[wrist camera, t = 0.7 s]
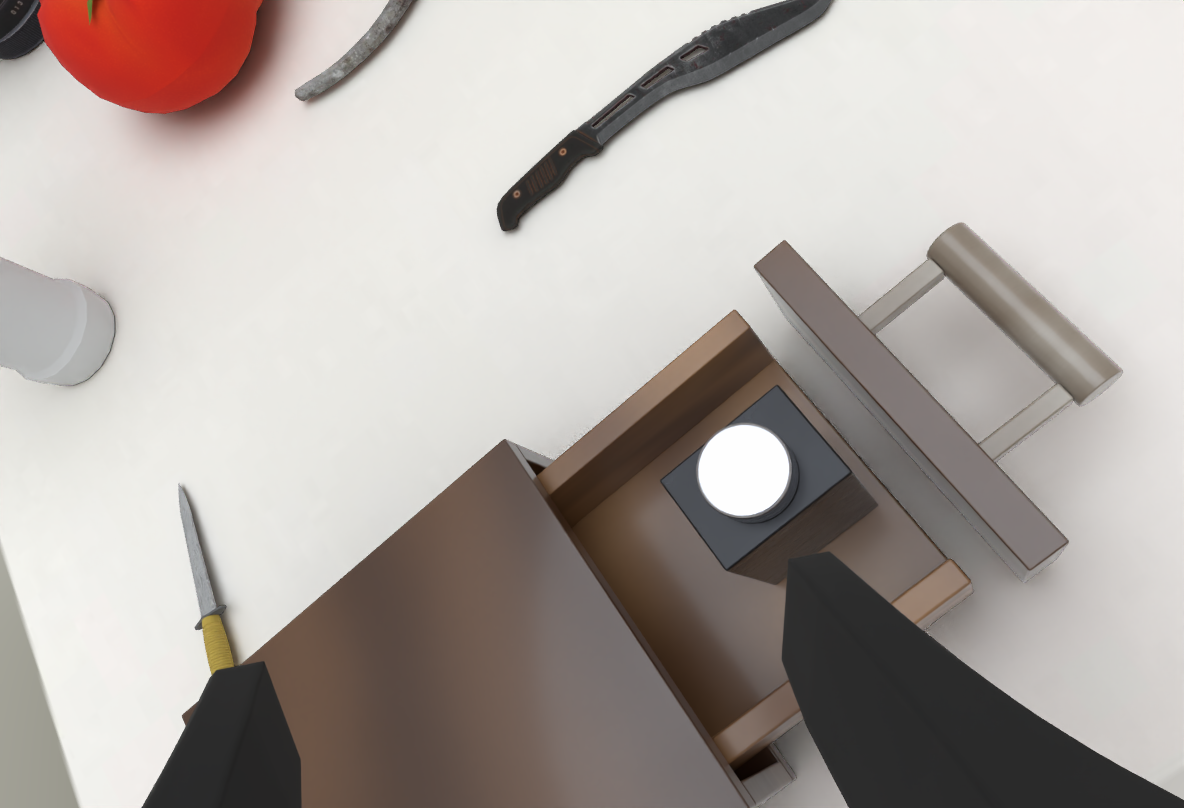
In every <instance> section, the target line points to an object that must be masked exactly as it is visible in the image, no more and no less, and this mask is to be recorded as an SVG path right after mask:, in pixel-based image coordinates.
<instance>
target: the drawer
mask: <svg viewBox="0 0 1184 808" xmlns="http://www.w3.org/2000/svg"><path fill="white" fill-rule="evenodd" d="M927 259H928V260H927V261H925V262H924V263H923V264H922V265H920V266H919V267H918V268H917V269H916V270H914V271H913V272H912V273H911V274H909V275H908V276H907V277H906V278H905V279H903V280H902V281H901V282H900V283H898V284H897V285H896V286H895V287H894V288H892V289H891V290H890V291H889V292H887V293H886V294H885V295H884V296H883V297H881V298H880V299H879V300H878V301H877V302H875V303H874V304H873V305H872V306H870V307H869V308H868V309H867V310H866V311H864V312H863V313H862V314H861V315H859V316H858V317H857V316H856V315H855V313H854V312H853V311H852V310H851V309H850V308H849V307H848V306H847V305H846V304H845V303H844V302H843V301H842V300H841V299H840V298H839V297H838V295H837V294H836V293H835V292H834V291H833V290H832V289H831V288H830V287H829V286H828V285H827V284H826V283H825V282H824V281H823V280H822V279H821V277H820V276H819V275H818V274H817V273H816V272H815V271H814V270H813V269H812V268H811V267H810V266H809V265H808V264H807V263H806V262H805V260H804V259H803V258H802V257H801V256H800V255H799V254H798V253H797V252H796V251H795V250H794V249H793V248H792V247H791V246H790V245H789V244H788V242H787V241H785V240H784V241H782V242H781V243H780V244H779V245H778V246H776V247H775V248H774V249H773V250H772V251H771V252H769V253H768V254H767V255H766V256H765V257H763V258H762V259H761V260H760V261H759V262H758V263H756V264H755V265H754V268H755V270H756V272H757V273H758V275H759V276H760V278H761V280H762V281H763V283H764V284H765V286H766V288H767V289H768V291H769V292H770V294H771V296H772V297H773V299H774V300H775V302H776V304H777V305H778V307H779V308H780V310H781V312H782V313H783V315H784V316H785V318H786V319H787V320H788V321H789V322H790V323H791V324H792V325H793V327H794V328H795V329H796V330H797V331H798V332H799V333H800V334H801V335H802V337H803V338H804V339H805V340H806V341H807V342H808V343H809V344H810V346H811V347H812V348H813V349H814V350H815V351H816V352H817V353H818V354H819V356H820V357H821V358H822V359H823V360H824V361H825V362H826V363H827V365H828V366H829V367H830V368H831V369H832V370H833V371H834V372H835V373H836V375H837V376H838V377H839V378H840V379H841V380H842V381H843V382H844V383H845V385H846V386H847V387H848V388H849V389H850V390H851V391H852V392H853V394H854V395H855V396H856V397H857V398H858V399H859V400H860V401H861V402H862V404H863V405H864V406H865V407H866V408H867V409H868V410H869V411H870V412H871V414H872V415H873V416H874V417H875V418H876V419H877V420H878V421H879V423H880V424H881V425H882V426H883V427H884V428H885V429H886V430H887V431H888V433H889V434H890V435H891V436H892V437H893V438H894V439H895V440H896V441H897V443H898V444H899V445H900V446H901V447H902V448H903V449H904V450H905V452H906V453H907V454H908V455H909V456H910V457H911V458H912V459H913V460H914V462H915V463H916V464H917V465H918V466H919V467H920V468H921V469H922V470H923V472H924V473H925V474H926V475H927V476H928V477H929V478H930V479H931V481H932V482H933V483H934V484H935V485H936V486H937V487H938V488H939V489H940V491H941V492H942V493H943V494H944V495H945V496H946V497H947V498H948V499H949V501H950V502H951V503H952V504H953V505H954V506H955V507H956V508H957V510H958V511H959V512H960V513H961V514H962V515H963V516H964V517H965V518H966V520H967V521H968V522H969V523H970V524H971V525H972V526H973V527H974V528H975V530H976V531H977V532H978V533H979V534H980V535H981V536H982V537H983V539H984V540H985V541H986V542H987V543H988V544H989V545H990V546H991V547H992V549H993V550H994V551H995V552H996V553H997V554H998V555H999V556H1000V557H1001V559H1002V560H1003V561H1004V562H1005V563H1006V564H1007V565H1008V566H1009V568H1010V569H1011V570H1012V571H1013V572H1014V573H1015V574H1016V575H1017V576H1018V578H1019V579H1020V580H1021V581H1022V582H1024V583H1025V582H1027V581H1028V580H1029V579H1031V578H1032V577H1033V576H1035V575H1036V574H1037V573H1039V572H1040V571H1042V570H1043V569H1044V568H1046V567H1047V566H1048V565H1050V564H1051V563H1052V562H1054V561H1055V560H1056V559H1057V558H1058V557H1059V555H1060V554H1061V553H1062V551H1063V550H1064V548H1065V547H1066V546H1067V544H1068V543H1069V541H1068V539H1067V538H1066V537H1065V536H1064V535H1063V534H1062V533H1061V532H1060V531H1059V530H1058V529H1057V528H1056V527H1055V525H1054V524H1053V523H1052V522H1051V521H1050V520H1049V519H1048V518H1047V517H1046V516H1045V515H1044V514H1043V513H1042V512H1041V511H1040V510H1039V509H1038V507H1037V506H1036V505H1035V504H1034V503H1033V502H1032V501H1031V500H1030V499H1029V498H1028V497H1027V496H1026V495H1025V494H1024V493H1023V492H1022V491H1021V489H1020V488H1019V487H1018V486H1017V485H1016V484H1015V483H1014V482H1013V481H1012V480H1011V479H1010V478H1009V477H1008V476H1007V475H1006V474H1005V472H1004V471H1003V470H1002V469H1001V468H1000V467H999V466H998V465H997V464H996V462H997V461H998V460H1000V459H1001V458H1002V457H1003V456H1005V455H1006V454H1007V453H1009V452H1010V451H1011V450H1013V449H1014V448H1015V447H1016V446H1018V445H1019V444H1020V443H1022V442H1023V441H1024V440H1026V439H1027V438H1028V437H1029V436H1031V435H1032V434H1033V433H1035V432H1036V431H1037V430H1039V429H1040V428H1041V427H1043V426H1044V425H1045V424H1046V423H1048V422H1049V421H1050V420H1052V419H1053V418H1054V417H1056V416H1057V415H1058V414H1059V413H1061V412H1062V411H1063V410H1065V409H1066V408H1067V407H1069V406H1070V405H1071V404H1072V402H1073V401H1074V402H1075V403H1076V404H1077V405H1078V406H1083V405H1086V404H1087V403H1089V402H1090V401H1092V400H1093V399H1095V398H1096V397H1098V396H1099V395H1100V394H1101V393H1103V392H1104V391H1105V390H1106V389H1108V388H1109V387H1110V386H1111V385H1112V384H1113V383H1114V382H1115V381H1116V380H1117V379H1118V378H1119V377H1120V376H1121V375H1122V373H1123V370H1122V369H1121V368H1120V367H1119V366H1118V365H1117V364H1116V363H1115V362H1114V361H1113V360H1111V359H1110V358H1109V357H1108V356H1107V355H1106V354H1105V353H1104V352H1103V351H1102V350H1101V349H1100V348H1099V347H1097V346H1096V345H1095V344H1094V343H1093V342H1092V341H1091V340H1090V339H1089V338H1088V337H1087V336H1086V335H1085V334H1083V333H1082V332H1081V331H1080V330H1079V329H1078V328H1077V327H1076V326H1075V325H1074V324H1073V323H1072V322H1071V321H1069V320H1068V319H1067V318H1066V317H1065V316H1064V315H1063V314H1062V313H1061V312H1060V311H1059V310H1058V309H1057V308H1055V307H1054V306H1053V305H1052V304H1051V303H1050V302H1049V301H1048V300H1047V299H1046V298H1045V297H1044V296H1043V295H1041V294H1040V293H1039V292H1038V291H1037V290H1036V289H1035V288H1034V287H1033V286H1032V285H1031V284H1030V283H1029V282H1027V281H1026V280H1025V279H1024V278H1023V277H1022V276H1021V275H1020V274H1019V273H1018V272H1017V271H1016V270H1015V269H1013V268H1012V267H1011V266H1010V265H1009V264H1008V263H1007V262H1006V261H1005V260H1004V259H1003V258H1002V257H1001V256H999V255H998V254H997V253H996V252H995V251H994V250H993V249H992V248H991V247H990V246H989V245H988V244H987V243H985V242H984V241H983V240H982V239H981V238H980V237H979V236H978V235H977V234H976V233H975V232H974V231H973V230H971V229H970V228H969V227H968V226H967V225H966V224H965V223H962V222H961V223H957V224H955V225H953V226H951V227H950V228H948V229H947V230H946V231H944V232H943V233H942V234H941V235H940V236H939V237H938V238H937V239H936V240H935V241H934V242H933V244H932V245H931V246H930V248H929V250H928V252H927ZM944 275H945V276H946V277H947V278H948V279H949V280H950V281H951V282H952V283H953V284H954V285H955V286H956V287H957V288H958V289H959V290H960V291H961V292H962V293H963V294H964V295H965V296H966V297H967V298H968V299H969V300H970V301H971V302H972V303H974V304H975V305H976V306H977V307H978V308H979V309H980V310H981V311H982V312H983V313H984V314H985V315H986V316H987V317H988V318H989V319H990V320H991V321H992V322H993V323H994V324H995V325H996V326H997V327H998V328H999V329H1000V330H1001V331H1002V332H1003V333H1004V334H1005V335H1006V336H1007V337H1008V338H1009V339H1010V340H1011V341H1013V342H1014V343H1015V344H1016V345H1017V346H1018V347H1019V348H1020V349H1021V350H1022V351H1023V352H1024V353H1025V354H1026V355H1027V356H1028V357H1029V358H1030V359H1031V360H1032V361H1033V362H1034V363H1035V364H1036V365H1037V366H1038V367H1039V368H1040V369H1041V370H1042V371H1043V372H1044V373H1045V374H1046V375H1047V376H1048V377H1049V378H1051V379H1052V380H1053V381H1054V382H1055V383H1056V384H1055V385H1054V386H1053V387H1051V388H1050V389H1049V390H1048V391H1046V392H1045V393H1044V394H1042V395H1041V396H1040V397H1038V398H1037V399H1036V400H1035V401H1033V402H1032V403H1031V404H1029V405H1028V406H1027V407H1026V408H1024V409H1023V410H1022V411H1020V412H1019V413H1018V414H1017V415H1015V416H1014V417H1013V418H1011V419H1010V420H1009V421H1008V422H1006V423H1005V424H1004V425H1002V426H1001V427H1000V428H998V429H997V430H996V431H995V432H993V433H992V434H991V435H989V436H988V437H987V438H986V439H984V440H983V441H982V442H980V443H979V444H977V443H976V442H975V441H974V440H973V439H972V438H971V436H970V435H969V434H968V433H967V432H966V431H965V430H964V429H963V428H962V427H961V426H960V425H959V424H958V423H957V422H956V421H955V419H954V418H953V417H952V416H951V415H950V414H949V413H948V412H947V411H946V410H945V409H944V408H943V407H942V406H941V405H940V404H939V403H938V401H937V400H936V399H935V398H934V397H933V396H932V395H931V394H930V393H929V392H928V391H927V390H926V389H925V388H924V387H923V386H922V385H921V383H920V382H919V381H918V380H917V379H916V378H915V377H914V376H913V375H912V374H911V373H910V372H909V371H908V370H907V369H906V368H905V366H904V365H903V364H902V363H901V362H900V361H899V360H898V359H897V358H896V357H895V356H894V355H893V354H892V353H891V352H890V351H889V350H888V348H887V347H886V346H885V345H884V344H883V343H882V342H881V341H880V340H879V339H878V338H877V337H876V336H875V334H876V333H878V332H879V331H880V330H881V329H883V328H884V327H885V326H886V325H887V324H889V323H890V322H891V321H892V320H894V319H895V318H896V317H897V316H899V315H900V314H901V313H902V312H903V311H905V310H906V309H907V308H908V307H910V306H911V305H912V304H913V303H914V302H916V301H917V300H918V299H919V298H921V297H922V296H923V295H924V294H926V293H927V292H928V291H929V290H930V289H932V288H933V287H934V286H935V285H937V284H938V283H939V282H940V281H942V280H943V279H944ZM775 385H779V386H780V387H781V388H782V390H783V391H784V392H785V393H786V394H787V395H788V397H789V398H790V399H791V400H792V401H793V402H794V404H795V405H796V406H797V407H798V408H799V409H800V411H801V412H802V413H803V414H804V415H805V417H806V418H807V419H808V420H809V421H810V422H811V424H812V425H813V426H814V427H815V428H816V429H817V431H818V432H819V433H820V434H821V435H822V436H823V438H824V439H825V440H826V441H827V442H828V443H829V445H830V446H831V447H832V448H833V449H834V450H835V452H836V453H837V454H838V455H839V456H840V457H841V459H842V460H843V461H844V462H845V463H846V464H847V466H848V467H849V468H850V469H851V470H852V472H853V473H854V474H855V475H856V477H857V478H858V479H859V480H860V482H861V483H862V484H863V486H864V487H865V488H866V489H867V491H868V492H869V493H870V494H871V496H872V497H873V498H874V499H875V501H876V502H877V503H878V506H877V507H876V508H875V509H873V510H872V511H871V512H869V513H868V514H867V515H866V516H864V517H863V518H862V519H860V520H859V521H858V522H857V523H855V524H854V525H853V526H851V527H850V528H849V529H848V530H846V531H845V532H844V533H842V534H841V535H840V536H839V537H837V538H836V539H835V540H833V541H832V542H831V543H830V544H828V545H827V546H826V547H824V548H823V549H822V550H821V551H819V552H818V553H823V552H828V551H830V552H831V553H832V554H833V555H835V556H836V557H837V558H838V559H840V560H841V561H842V562H843V563H844V564H845V565H847V566H848V567H849V568H850V569H851V570H852V571H853V572H855V573H856V574H857V575H858V576H859V577H860V578H861V579H863V580H864V581H865V582H866V583H867V584H868V585H870V586H871V587H872V588H873V589H874V590H875V591H877V592H878V593H879V594H880V595H881V596H882V597H883V598H885V599H886V600H887V601H888V602H889V603H891V604H892V605H893V606H894V607H895V608H896V609H898V610H899V611H900V612H901V613H902V614H904V615H905V616H906V617H907V618H908V619H910V620H911V621H912V622H913V623H914V624H916V625H917V626H918V627H919V628H921V629H922V630H924V629H925V628H927V627H928V626H929V625H931V624H932V623H933V622H935V621H936V620H938V619H939V618H940V617H942V616H943V615H944V614H946V613H947V612H948V611H950V610H951V609H952V608H954V607H955V606H956V605H958V604H959V603H960V602H962V601H963V600H964V599H966V598H967V597H968V596H970V595H971V594H972V593H973V592H974V589H973V587H972V583H971V580H970V579H969V578H968V577H967V575H966V574H965V573H964V572H963V571H962V570H961V568H960V567H959V566H958V565H957V564H956V563H955V562H954V560H952V559H948V558H947V557H946V556H945V555H944V554H943V553H942V552H941V550H940V549H939V548H938V547H937V546H936V545H935V543H934V542H933V541H932V540H931V539H930V538H929V537H928V535H927V534H926V533H925V532H924V531H923V530H922V528H921V527H920V526H919V525H918V524H917V523H916V522H915V520H914V519H913V518H912V517H911V516H910V515H909V513H908V512H907V511H906V510H905V509H904V508H903V507H902V505H901V504H900V503H899V502H898V501H897V500H896V498H895V497H894V496H893V495H892V494H891V493H890V492H889V490H888V489H887V488H886V487H885V486H884V485H883V483H882V482H881V481H880V480H879V479H878V478H877V477H876V475H875V474H874V473H873V472H872V471H871V470H870V468H869V467H868V466H867V465H866V464H865V463H864V462H863V460H862V459H861V458H860V457H859V456H858V455H857V453H856V452H855V451H854V450H853V449H852V448H851V447H850V445H849V444H848V443H847V442H846V441H845V440H844V438H843V437H842V436H841V435H840V434H839V433H838V432H837V430H836V429H835V428H834V427H833V426H832V425H831V423H830V422H829V421H828V420H827V419H826V418H825V417H824V415H823V414H822V413H821V412H820V411H819V410H818V408H817V407H816V406H815V405H814V404H813V403H812V402H811V400H810V399H809V398H808V397H807V396H806V395H805V393H804V392H803V391H802V390H801V389H800V388H799V387H798V385H797V384H796V383H795V382H794V381H793V380H792V378H791V377H790V376H789V375H788V374H787V373H786V372H785V370H784V369H783V368H782V367H781V366H780V365H779V363H778V362H777V361H776V360H775V359H774V357H773V356H772V355H771V353H770V352H769V351H768V349H767V348H766V347H765V345H764V344H763V343H762V341H761V340H760V339H759V337H758V336H757V335H756V333H755V332H754V331H753V329H752V328H751V327H750V326H749V324H748V323H747V322H746V321H745V320H744V319H743V318H742V316H741V315H740V314H739V313H738V312H737V311H736V310H733V311H732V312H730V313H729V314H728V315H727V316H726V317H724V318H723V319H722V320H721V321H720V322H719V323H717V324H716V325H715V326H714V327H713V328H711V329H710V330H709V331H708V332H707V333H706V334H704V335H703V336H702V337H701V338H700V339H698V340H697V341H696V342H695V343H694V344H692V345H691V346H690V347H689V348H688V349H687V350H685V351H684V352H683V353H682V354H681V355H679V356H678V357H677V358H676V359H675V360H673V361H672V362H671V363H670V364H669V365H668V366H666V367H665V368H664V369H663V370H662V371H660V372H659V373H658V374H657V375H656V376H655V377H653V378H652V379H651V380H650V381H649V382H647V383H646V384H645V385H644V386H643V387H641V388H640V389H639V390H638V391H637V392H636V393H634V394H633V395H632V396H631V397H630V398H628V399H627V400H626V401H625V402H624V403H622V404H621V405H620V406H619V407H618V408H617V409H615V410H614V411H613V412H612V413H611V414H609V415H608V416H607V417H606V418H605V419H604V420H602V421H601V422H600V423H599V424H598V425H596V426H595V427H594V428H593V429H592V430H590V431H589V432H588V433H587V434H586V435H585V436H583V437H582V438H581V439H580V440H579V441H577V442H576V443H575V444H574V445H573V446H571V447H570V448H569V449H568V450H567V451H566V452H564V453H563V454H562V455H561V456H560V457H558V458H557V459H556V460H555V461H554V462H553V463H551V464H550V465H549V466H548V467H547V468H545V469H544V470H543V471H542V472H541V473H539V474H538V475H537V478H538V479H539V481H540V482H541V484H542V485H543V487H544V488H545V490H546V491H547V493H548V494H549V496H550V497H551V499H552V500H553V502H554V503H555V505H556V506H557V508H558V509H559V511H560V512H561V514H562V515H563V517H564V518H565V520H566V521H567V523H568V524H569V526H570V527H571V529H572V530H573V532H574V533H575V535H576V536H577V538H578V539H579V541H580V542H581V544H582V545H583V547H584V548H585V550H586V551H587V553H588V554H589V556H590V557H591V559H592V560H593V562H594V563H595V565H596V566H597V568H598V569H599V571H600V572H601V574H602V575H603V577H604V578H605V580H606V581H607V583H608V584H609V586H610V587H611V589H612V590H613V592H614V593H615V595H616V596H617V598H618V599H619V601H620V602H621V604H622V605H623V606H624V608H625V609H626V611H627V612H628V614H629V615H630V617H631V618H632V620H633V621H634V623H635V624H636V626H637V627H638V629H639V630H640V632H641V633H642V635H643V636H644V638H645V639H646V641H647V642H648V644H649V645H650V647H651V648H652V650H653V651H654V653H655V654H656V656H657V657H658V659H659V660H660V662H661V663H662V665H663V666H664V668H665V669H666V671H667V672H668V674H669V675H670V677H671V678H672V680H673V681H674V683H675V684H676V686H677V687H678V689H679V690H680V692H681V693H682V695H683V696H684V698H685V699H686V701H687V702H688V704H689V705H690V707H691V708H692V710H693V711H694V713H695V714H696V716H697V717H698V719H699V720H700V722H701V723H702V725H703V726H704V728H705V729H706V731H707V732H708V734H709V735H710V737H711V738H712V740H713V741H714V743H715V744H716V746H717V747H718V749H719V750H720V752H721V753H722V755H723V756H724V758H725V759H726V761H727V762H728V764H729V765H730V767H731V768H732V770H733V771H735V770H736V769H738V768H739V767H740V766H742V765H743V764H744V763H746V762H747V761H748V760H750V759H751V758H752V757H754V756H755V755H756V754H758V753H759V752H760V751H762V750H763V749H764V748H766V747H767V746H768V745H770V744H771V743H772V742H774V741H775V740H776V739H778V738H779V737H781V736H782V735H783V734H785V733H786V732H787V731H789V730H790V729H791V728H793V727H794V726H795V725H797V724H798V723H799V722H801V721H802V720H803V719H804V718H803V716H802V713H801V710H800V708H799V705H798V703H797V700H796V698H795V695H794V692H793V690H792V687H791V684H790V681H789V679H788V676H787V673H786V671H785V668H784V665H783V662H782V660H781V659H782V644H783V629H784V614H785V599H786V584H787V577H786V578H785V579H783V580H782V581H781V582H779V583H778V584H777V585H773V584H769V583H766V582H762V581H759V580H755V579H752V578H749V577H745V576H742V575H738V574H735V573H731V572H728V571H726V570H725V569H724V568H723V567H722V565H721V564H720V563H719V561H718V560H717V559H716V557H715V556H714V555H713V553H712V552H711V550H710V549H709V548H708V546H707V545H706V544H705V542H704V541H703V540H702V538H701V537H700V536H699V534H698V533H697V531H696V530H695V529H694V527H693V526H692V525H691V523H690V522H689V521H688V519H687V518H686V517H685V515H684V514H683V513H682V511H681V510H680V508H679V507H678V506H677V504H676V503H675V502H674V500H673V499H672V498H671V496H670V495H669V494H668V492H667V491H666V489H665V488H664V487H663V485H662V484H661V483H660V480H661V479H662V478H663V477H664V476H665V475H667V474H668V473H669V472H670V471H672V470H673V469H674V468H675V467H676V466H678V465H679V464H680V463H681V462H683V461H684V460H685V459H686V458H687V457H689V456H690V455H691V454H692V453H693V452H695V451H696V450H697V449H698V448H700V447H701V446H702V445H703V444H704V443H706V442H707V441H708V440H709V438H710V437H712V436H713V435H714V434H715V433H716V432H718V431H719V430H721V429H722V428H724V427H725V426H726V425H728V424H729V423H730V422H731V421H733V420H734V419H735V418H736V417H737V416H739V415H740V414H741V413H742V412H743V411H745V410H746V409H747V408H748V407H750V406H751V405H752V404H753V403H754V402H756V401H757V400H758V399H759V398H761V397H762V396H763V395H764V394H765V393H767V392H768V391H769V390H770V389H772V388H773V387H774V386H775Z"/></svg>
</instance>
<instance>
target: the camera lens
mask: <svg viewBox="0 0 1184 808" xmlns="http://www.w3.org/2000/svg"><path fill="white" fill-rule="evenodd" d="M40 7H41V3H40V1H39V0H0V58H2V59H13V58H16V57H19V56H22V55H24V54H26V53H27V52H29V51H30V50H32V49H33V48H35V47H36V46H37V45H38V44H39V43H40V42H42V41H43V39H44V37H43V34H42V30H41V26H40V23H39V19H38V15H37V14H38V12H39V9H40Z"/></svg>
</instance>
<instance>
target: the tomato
mask: <svg viewBox="0 0 1184 808" xmlns="http://www.w3.org/2000/svg"><path fill="white" fill-rule="evenodd" d="M39 1H40V3H41V7H40V9H39V12H38V14H37V15H38V19H39V23H40V26H41V30H42V34H43V37H44V41H45V43H46V44H47V46H48V47H49V48H50V50H51V51H52V53H53V54H54V55H55V57H56V58H57V59H58V61H59V62H60V63H61V65H62V66H63V67H64V68H65V69H66V70H67V71H68V72H69V73H70V74H71V75H72V76H73V77H74V78H75V79H76V80H78V81H79V82H80V83H81V84H83V85H84V86H85V87H87V88H88V89H89V90H91V91H92V92H93V93H94V94H96V95H97V96H98V97H100V98H102V99H104V100H107V101H110V102H112V103H115V104H117V105H120V106H122V107H125V108H129V109H133V110H137V111H141V112H145V113H161V114H166V113H170V112H175V111H179V110H184V109H188V108H190V107H192V106H194V105H196V104H197V103H199V102H201V101H203V100H205V99H207V98H209V97H211V96H213V95H215V94H217V93H219V92H220V91H221V90H222V89H223V88H224V87H225V86H226V85H227V84H228V83H229V82H230V81H231V80H232V79H233V78H234V77H235V76H236V75H237V74H238V72H239V70H240V68H241V66H242V65H243V63H244V61H245V59H246V57H247V56H248V54H249V52H250V48H251V44H252V40H253V35H254V31H255V27H256V12H257V10H258V9H259V7H260V6H261V4H262V1H263V0H39Z"/></svg>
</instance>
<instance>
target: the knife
mask: <svg viewBox="0 0 1184 808" xmlns="http://www.w3.org/2000/svg"><path fill="white" fill-rule="evenodd" d="M830 2H831V0H786V1H783V2H779V3H776V4H773V5H769V6H766V7H763V8H760V9H756V10H753V11H750V13H748V14H745V13H744V14H742V15H741V16H739V17H736V16H735V17H732V18H731V19H730V20H728V21H726V20H724V21H721V23H720V24H719V25H714V26H712V27H711V29H710V30H708V31H706V30H705V31H704V32H702V34H701V35H700V36H698V37H695V38H693V39H692V41H691V42H690V43H686V44H685V45H683V46H682V47H681V48H679V49H678V50H676V51H675V52H674V53H672V54H671V55H670V56H668V57H667V58H665V59H664V60H663V61H661V62H660V63H658V64H657V65H656V66H655V67H653V68H652V69H651V70H649V71H648V72H647V73H646V74H644V75H643V76H642V77H641V78H640V79H639V80H637V81H636V82H635V83H634V84H632V85H631V86H630V87H629V88H628V89H626V90H625V91H624V92H623V93H622V94H620V95H619V96H618V97H617V98H615V99H614V100H613V101H612V102H611V103H609V104H608V105H607V106H606V107H604V108H603V109H602V110H601V111H600V112H598V113H597V114H596V115H595V116H593V117H592V118H591V119H590V120H588V121H587V122H585V123H584V124H582V125H581V126H580V127H579V128H578V129H576V130H573V131H572V132H571V133H569V134H568V135H567V136H566V137H565V138H564V139H563V140H562V141H561V142H559V143H558V144H557V145H556V146H555V147H554V148H553V149H552V150H551V151H550V152H549V153H547V154H546V155H545V156H544V157H543V158H542V159H541V160H540V161H539V162H538V163H537V164H536V165H535V166H533V167H532V168H531V169H530V170H529V171H528V172H527V173H526V174H525V175H524V176H523V177H522V178H521V179H520V180H519V181H518V182H517V183H516V184H515V185H514V186H513V187H511V188H510V189H509V190H508V192H507V193H506V194H505V195H504V196H503V197H502V198H501V200H500V202H499V203H498V206H497V216H498V220H499V223H500V227H501V229H502V230H503V231H508V230H511V229H514V228H516V227H517V225H518V218H519V217H520V216H521V215H522V214H523V213H524V212H525V211H526V210H527V209H529V208H530V207H531V206H532V205H533V204H534V203H536V202H537V201H538V200H539V199H541V198H542V197H543V196H545V195H546V194H547V193H549V192H550V191H552V190H553V189H554V188H555V187H557V186H558V185H559V184H560V183H561V181H562V180H563V179H564V178H565V176H566V175H567V173H568V172H569V170H570V169H571V168H572V167H573V166H574V165H575V164H576V163H577V162H578V161H579V160H580V159H582V158H583V157H585V156H595V155H597V154H598V153H599V152H600V151H601V150H602V149H603V146H602V145H603V144H604V143H605V142H606V141H607V140H608V139H609V138H610V137H611V136H613V135H614V134H615V133H616V132H617V131H619V130H620V129H621V128H622V127H624V126H625V125H626V124H627V123H629V122H630V121H631V120H632V119H634V118H635V117H636V116H638V115H639V114H640V113H642V112H643V111H644V110H646V109H647V108H648V107H650V106H651V105H652V104H654V103H655V102H657V101H658V100H659V99H661V98H663V97H664V96H666V95H668V94H670V93H672V92H674V91H677V90H679V89H682V88H686V87H689V86H693V85H697V84H700V83H703V82H706V81H709V80H711V79H713V78H715V77H717V76H719V75H721V74H722V73H724V72H726V71H728V70H729V69H731V68H733V67H735V66H736V65H738V64H740V63H742V62H743V61H745V60H747V59H749V58H750V57H752V56H754V55H756V54H757V53H759V52H761V51H762V50H764V49H766V48H768V47H769V46H771V45H773V44H774V43H776V42H778V41H780V40H782V39H783V38H785V37H787V36H789V35H790V34H792V33H794V32H796V31H797V30H799V29H801V28H802V27H804V26H806V25H808V24H809V23H811V22H812V21H814V20H815V19H817V18H818V17H819V16H820V15H822V14H823V13H824V11H825V10H826V9H827V7H828V6H829V4H830ZM698 48H702V49H705V50H706V51H705V52H703V53H701V54H699V55H697V56H696V57H694V58H692V59H690V60H689V61H685V60H683V58H684V57H686V56H687V55H689V54H690V53H692V52H693V51H695V50H696V49H698ZM667 69H671V70H673V71H671V72H670V73H669V74H667V75H666V76H664V77H663V78H661V79H660V80H658V81H657V82H655V83H654V84H652V85H651V86H649V87H648V88H647V89H646V88H644V86H646V85H647V84H648V83H650V82H651V81H652V80H654V79H655V78H656V77H658V76H659V75H660V74H662V73H663V72H664V71H666V70H667ZM629 97H634V98H633V99H631V100H630V101H629V102H628V103H626V104H625V105H624V106H623V107H621V108H620V109H619V110H618V111H616V112H615V113H614V114H613V115H611V116H610V117H609V118H608V119H606V120H605V121H604V122H603V123H602V124H600V125H599V126H598V127H597V128H594V126H596V125H597V124H598V123H599V122H600V121H601V120H603V119H604V118H605V117H606V116H607V115H609V114H610V113H611V112H612V111H613V110H615V109H616V108H617V107H618V106H619V105H620V104H622V103H623V102H624V101H625V100H626V99H628V98H629Z"/></svg>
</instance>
